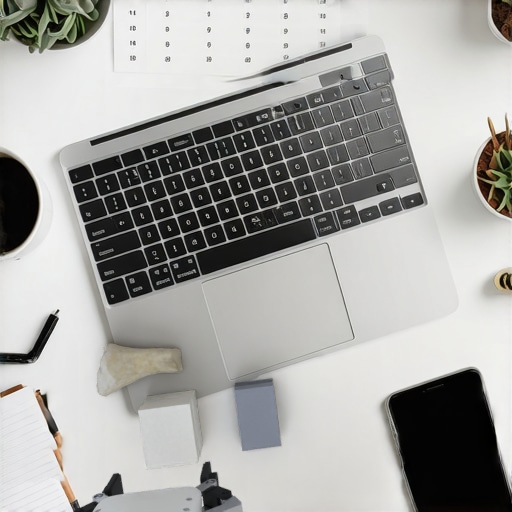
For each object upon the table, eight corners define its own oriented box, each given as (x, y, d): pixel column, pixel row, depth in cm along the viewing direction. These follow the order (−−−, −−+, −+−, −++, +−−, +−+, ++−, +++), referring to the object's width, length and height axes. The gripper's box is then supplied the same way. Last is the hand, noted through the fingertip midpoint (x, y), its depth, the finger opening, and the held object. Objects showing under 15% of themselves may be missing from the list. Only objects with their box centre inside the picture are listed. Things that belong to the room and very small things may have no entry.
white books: (202, 445, 74) (200, 457, 71) (155, 451, 74) (150, 463, 71) (195, 389, 74) (192, 399, 70) (146, 396, 74) (141, 405, 70)
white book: (199, 457, 71) (198, 463, 69) (149, 463, 71) (146, 470, 69) (191, 398, 70) (189, 403, 68) (140, 405, 70) (137, 410, 68)
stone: (103, 393, 73) (93, 405, 69) (88, 348, 73) (76, 357, 68) (185, 366, 73) (180, 377, 68) (169, 321, 73) (164, 329, 68)
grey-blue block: (280, 436, 74) (281, 446, 71) (242, 441, 74) (242, 451, 71) (272, 378, 73) (273, 385, 70) (234, 383, 73) (234, 390, 70)
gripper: (21, 645, 43) (89, 524, 60) (245, 617, 43) (249, 504, 60) (5, 551, 42) (78, 456, 59) (232, 522, 42) (239, 436, 59)
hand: (164, 480), depth 60 cm, fingers open, 9 cm apart
